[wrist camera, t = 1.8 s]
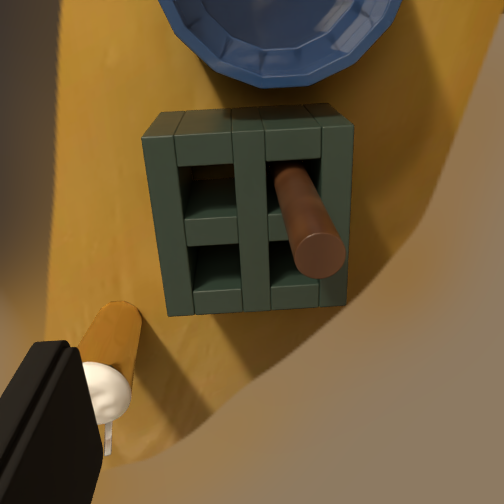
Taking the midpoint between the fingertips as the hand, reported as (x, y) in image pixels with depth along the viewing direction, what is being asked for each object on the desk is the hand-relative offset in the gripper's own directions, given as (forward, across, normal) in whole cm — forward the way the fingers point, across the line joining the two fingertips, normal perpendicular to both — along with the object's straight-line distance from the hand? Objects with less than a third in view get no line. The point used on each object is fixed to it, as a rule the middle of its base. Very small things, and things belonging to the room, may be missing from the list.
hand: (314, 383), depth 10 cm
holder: (+23, +1, +3) cm, 23 cm away
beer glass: (+23, +10, +13) cm, 29 cm away
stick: (+23, -2, +1) cm, 23 cm away
